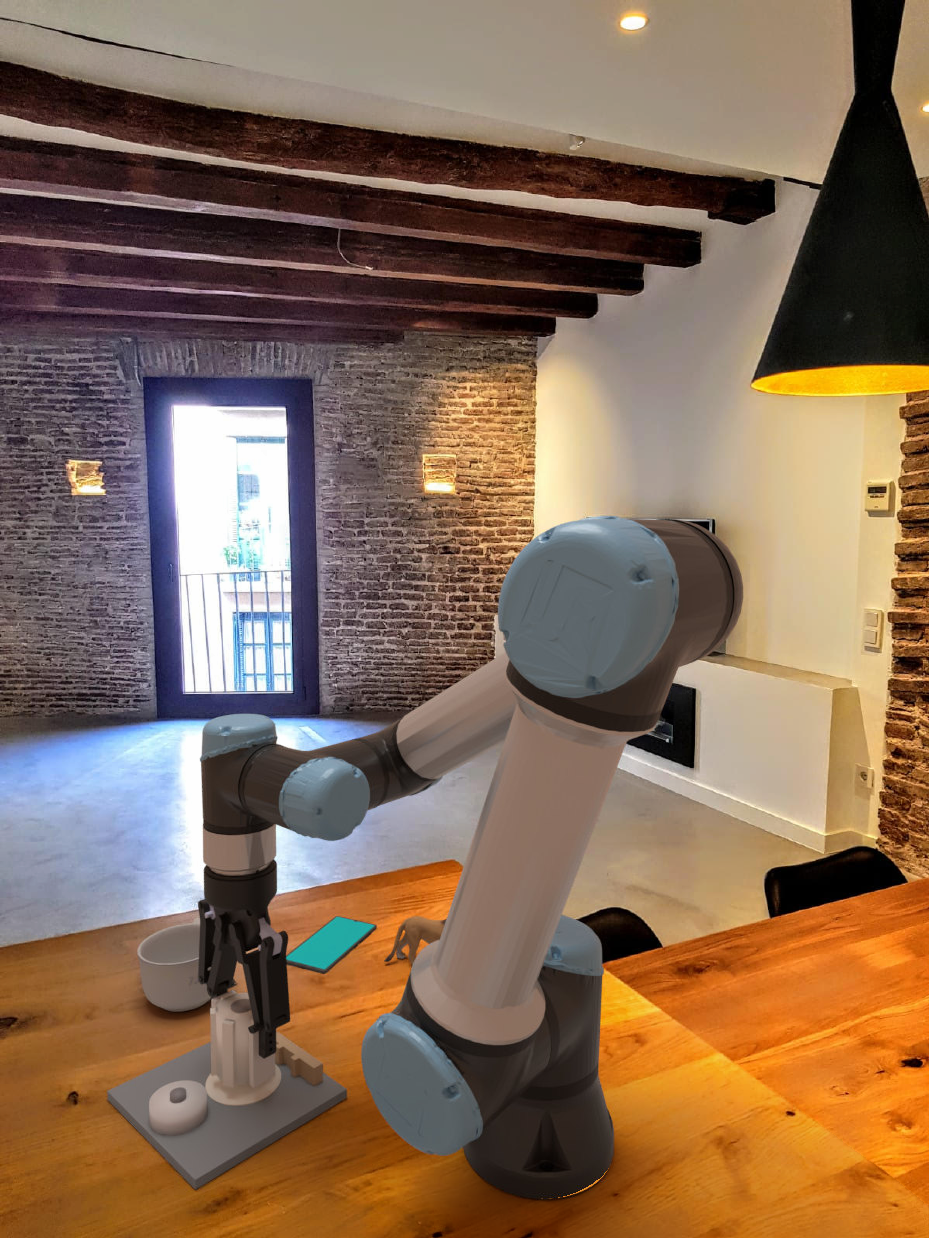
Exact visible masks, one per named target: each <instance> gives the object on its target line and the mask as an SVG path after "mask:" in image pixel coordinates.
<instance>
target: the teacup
mask: <svg viewBox="0 0 929 1238" xmlns="http://www.w3.org/2000/svg"><path fill="white" fill-rule="evenodd" d="M199 940H200V916H199V917H196V918H194V920H193V921H192V922H191V923H189V922H188V923H182V924H177V925H172V926H169V927H166V928H162V929H160V930H158V931H156V932H154V933H153V934H150V935H149V936H147V937H146V938H144V939H143V941H141V943H140V944H139V945H138V948H137V950H136V951H137V952H136V954H137V957H138V964H139V972H140V978H141V987H142V990H143V993H144V995H145V997H146V999H147V1000H148V1001H149V1002H150V1004H152V1005H155V1006H156V1007H159V1008H161V1009H163V1010H166V1011H168V1012H179V1013H180V1012H185V1011H187V1012H188V1011H190V1010H194V1009H197V1008H199V1007H201V1006H204V1005H205V1004H206V1003H207V1002H209V1001H211V996H209V994H208V992H207V985H206V984H203V985H201V984H200V983H199V980H198V967H199ZM210 969H211V967H209V968H208V970H210Z"/></svg>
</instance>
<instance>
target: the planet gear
mask: <svg viewBox="0 0 929 1238" xmlns="http://www.w3.org/2000/svg"><path fill="white" fill-rule="evenodd" d="M209 1011H210V1013H209V1015H210V1042H211V1076H213V1075H217V1076H218V1077H219V1078H220V1079H221V1080H222V1081H223V1086H229V1087H234V1086H235V1085H236V1084H243V1083H248V1082H250V1081H249V1030H248V1027H249V1026H251V1025H253V1024H254V1022H253V1016H252V1011H251V1006H250V1001H249V996H248V992H239V993H238V992H237V994H234V995H233V994H231V993H229V994H226V995H224V996H222V997H221V1001H220V1002H219V1003H218V1004H217V1006H216V1007H215V1008H211V1007H210V1009H209Z"/></svg>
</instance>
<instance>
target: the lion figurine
mask: <svg viewBox="0 0 929 1238" xmlns="http://www.w3.org/2000/svg"><path fill="white" fill-rule="evenodd" d="M446 919H447V918H445V919H441V920H440V919H439V920H438V919H437V920H436V919H429V918H426V917H424V916H421V915H420V916H419V915H413V916H411V917H408V918H406V919H404V921H402V923H400V924H399V927H398V930H397V932H396V936H395V939H394V943H393V948H392V950H391V952H390V953H389V955H388V956H386V958H385V959H384V960H383V963H385V962H386V963H389V962H391V960H392V959H393V958H394V957H395V955H396V958H398V959H405V958H406V957H408V960H409V962H410V964H411V966H412V965H413V963H414V961H415V959H416V954H417V951H418V949H419V947H420V944H421V940H422V941H424V942H426V944H427V945H429V944H430V943H432V942H435V941H437V940H440V938H441V935H442V932H443V928H444V925H445V922H446ZM403 931H404V934H403ZM402 934H403V936H402ZM401 936H402V938H401ZM407 945H408V949H409V950H408V951H409V952H408V953H407V956H406V953H405V952H403V951H402V950H403V948H405V947H406V946H407Z"/></svg>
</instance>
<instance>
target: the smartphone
mask: <svg viewBox="0 0 929 1238" xmlns="http://www.w3.org/2000/svg"><path fill="white" fill-rule="evenodd" d="M377 927H378V925H377V924H374V923H370V922H366V921H361V920H357V919H354V918H353V919H352V918H348V917H344V916H340V915H336V916H334V917H333V918H331V919H330V920H329V921H328V922H327V923H325V924H324V925H323V926H322V927H320V928H319V929H317V930H316V931H315V932H314V933H313V934H311V935H310V936H309V937H307V938H306V939H305V940H304V941H303V942H301V943H300V944H299V945H297V946H296V947H295V948H294V949H293V950H291V951H290V952H289V953H286V961H287V966H290V967H294V968H298V969H301V968H302V969H304V970H307V971H311V972H313V973H318V974H321V975H325V974H327V973H328V972H330V970H331V969H333V967H335V966H336V965H337V964H338V963H340V961H342V960H343V959H344V958H345V957H346V956H347V955H348V954H350V953H351V952H352V951H353V950H354V949H356V948H357V947H358V946H359V945H360V944H362V943H363V942H364V941H365V940H366V939H367V938H368V937H370V936H371V935H372V933H373V932H375V931H376V930H377Z"/></svg>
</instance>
